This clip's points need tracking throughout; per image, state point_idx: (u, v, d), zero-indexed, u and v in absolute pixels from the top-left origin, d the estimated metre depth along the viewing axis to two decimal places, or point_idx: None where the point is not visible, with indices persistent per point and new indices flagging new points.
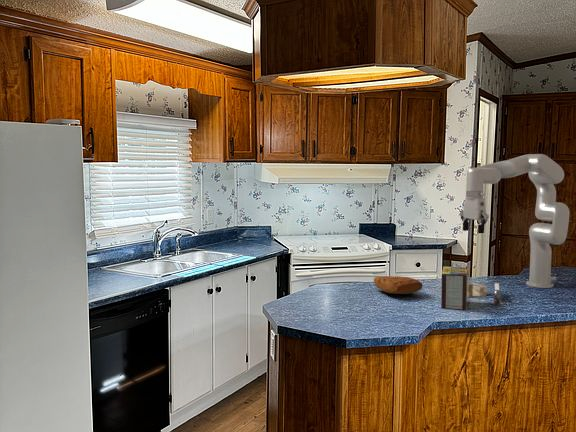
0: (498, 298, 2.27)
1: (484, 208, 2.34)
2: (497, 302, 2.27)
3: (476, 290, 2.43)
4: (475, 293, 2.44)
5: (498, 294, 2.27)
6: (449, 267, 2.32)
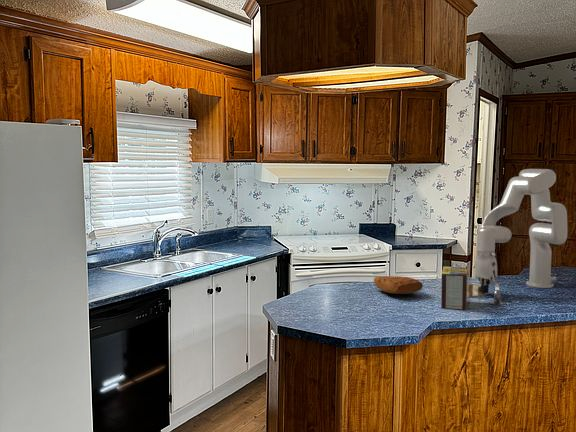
0: (498, 298, 2.27)
1: (496, 268, 2.36)
2: (497, 302, 2.27)
3: (474, 289, 2.44)
4: (473, 292, 2.44)
5: (498, 294, 2.27)
6: (449, 267, 2.32)
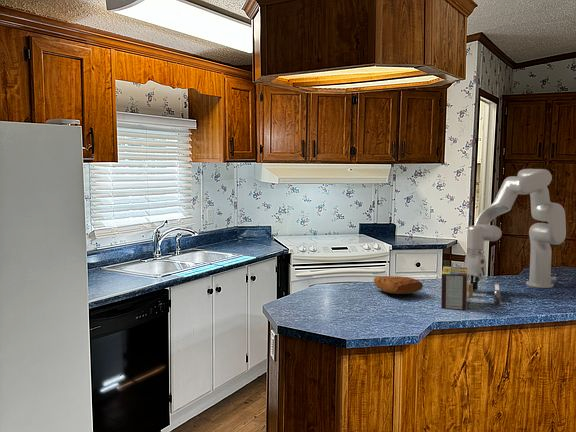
0: (498, 298, 2.27)
1: (484, 265, 2.42)
2: (497, 302, 2.27)
3: None
4: None
5: (498, 294, 2.27)
6: (449, 267, 2.32)
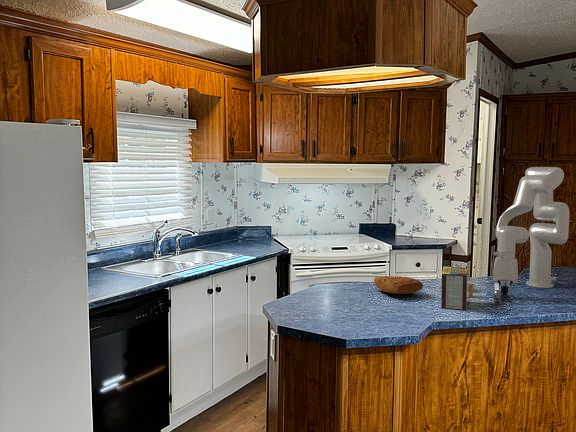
0: (498, 298, 2.27)
1: (494, 267, 2.37)
2: (497, 302, 2.27)
3: None
4: None
5: (498, 294, 2.27)
6: (449, 267, 2.32)
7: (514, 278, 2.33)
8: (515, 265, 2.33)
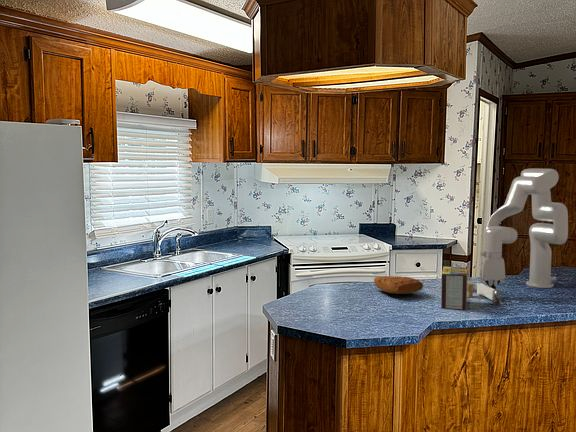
0: (498, 298, 2.27)
1: (482, 268, 2.37)
2: (497, 302, 2.27)
3: None
4: None
5: (498, 294, 2.27)
6: (449, 267, 2.32)
7: (502, 277, 2.35)
8: (503, 265, 2.35)
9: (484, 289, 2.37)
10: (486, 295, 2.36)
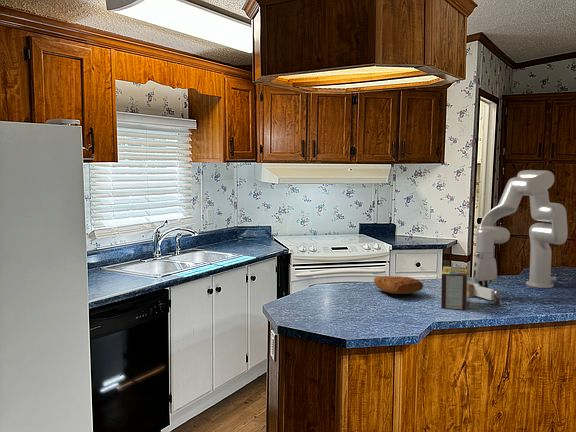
0: (498, 298, 2.27)
1: (477, 269, 2.36)
2: (497, 302, 2.27)
3: None
4: None
5: (498, 294, 2.27)
6: (449, 267, 2.32)
7: (495, 277, 2.37)
8: (495, 264, 2.36)
9: (479, 290, 2.36)
10: (482, 296, 2.35)
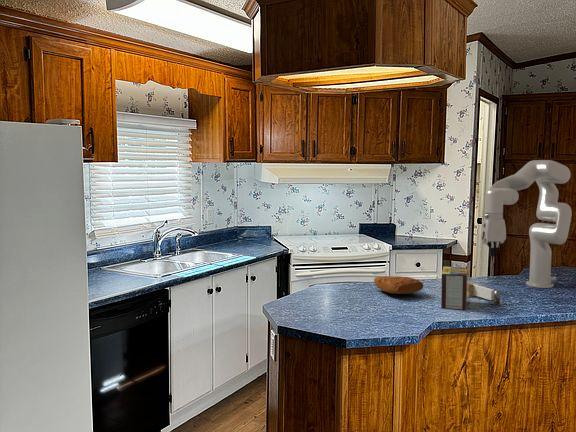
0: (498, 298, 2.27)
1: (486, 230, 2.34)
2: (497, 302, 2.27)
3: None
4: None
5: (498, 294, 2.27)
6: (449, 267, 2.32)
7: (504, 238, 2.35)
8: (504, 225, 2.35)
9: (479, 290, 2.36)
10: (482, 296, 2.35)
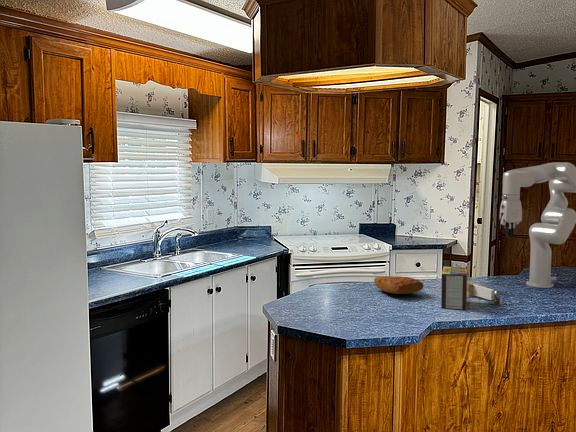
0: (498, 298, 2.27)
1: (505, 211, 2.39)
2: (497, 302, 2.27)
3: None
4: None
5: (498, 294, 2.27)
6: (449, 267, 2.32)
7: (520, 219, 2.42)
8: (521, 206, 2.42)
9: (479, 290, 2.36)
10: (482, 296, 2.35)
